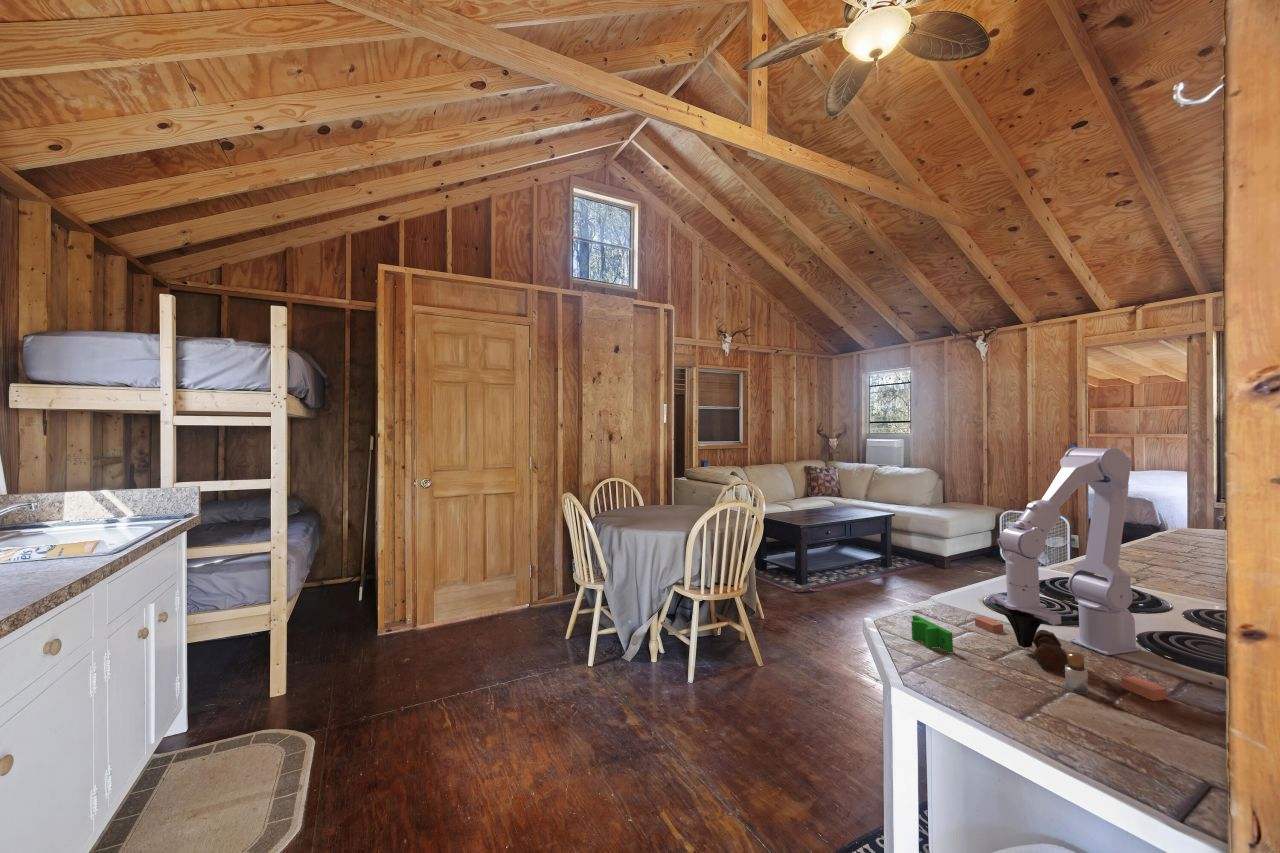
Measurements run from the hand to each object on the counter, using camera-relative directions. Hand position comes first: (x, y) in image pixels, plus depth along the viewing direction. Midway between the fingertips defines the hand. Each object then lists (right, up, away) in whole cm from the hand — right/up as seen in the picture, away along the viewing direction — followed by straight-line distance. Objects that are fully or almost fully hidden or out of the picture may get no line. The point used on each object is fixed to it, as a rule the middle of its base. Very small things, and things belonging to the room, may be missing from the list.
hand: (1025, 646), depth 110 cm
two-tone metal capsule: (-3, -1, -16) cm, 16 cm away
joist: (+2, -2, +14) cm, 14 cm away
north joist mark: (+8, -1, -18) cm, 20 cm away
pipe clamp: (-18, -2, +6) cm, 19 cm away
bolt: (+3, -2, -2) cm, 4 cm away
